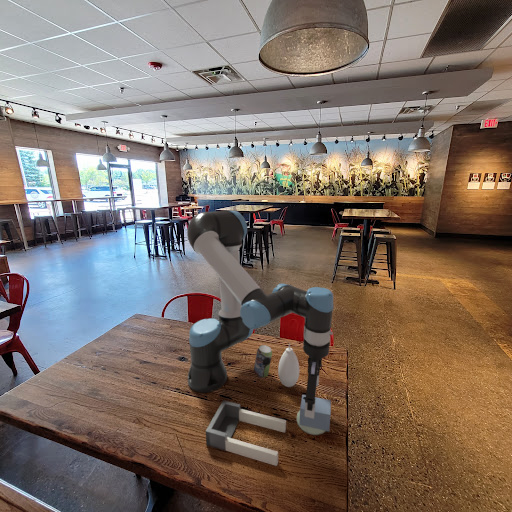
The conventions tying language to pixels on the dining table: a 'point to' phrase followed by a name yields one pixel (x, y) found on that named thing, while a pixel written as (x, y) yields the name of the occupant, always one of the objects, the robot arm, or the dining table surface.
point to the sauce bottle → (288, 368)
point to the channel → (255, 450)
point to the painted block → (317, 414)
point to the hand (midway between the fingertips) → (311, 399)
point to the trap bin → (222, 425)
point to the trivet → (309, 428)
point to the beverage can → (263, 361)
